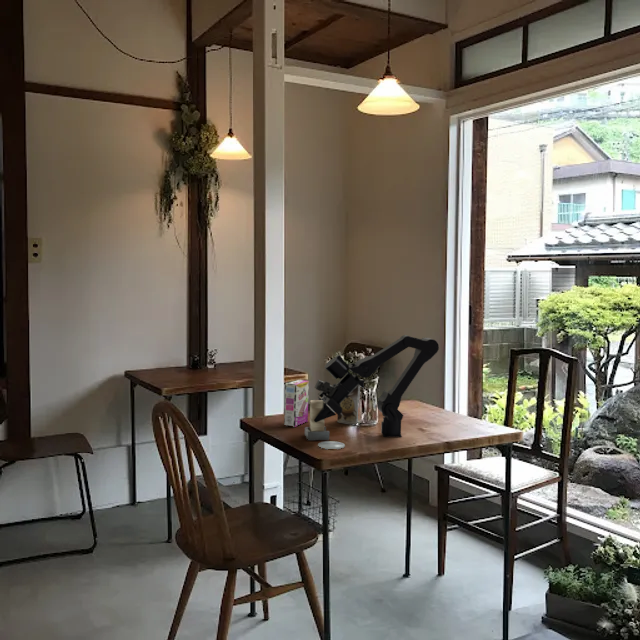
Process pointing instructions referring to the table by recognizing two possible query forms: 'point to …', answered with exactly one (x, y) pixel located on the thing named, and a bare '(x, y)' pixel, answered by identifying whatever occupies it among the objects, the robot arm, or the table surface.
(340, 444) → the ceramic coaster
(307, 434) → the grey square tray
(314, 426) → the birch block
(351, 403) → the coffee box
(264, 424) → the table surface
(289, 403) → the candy bar box
